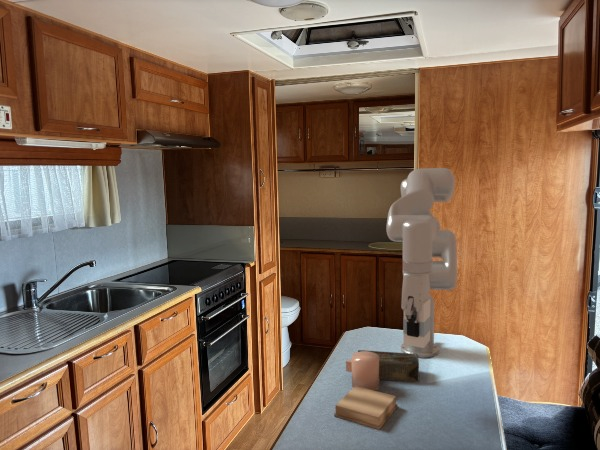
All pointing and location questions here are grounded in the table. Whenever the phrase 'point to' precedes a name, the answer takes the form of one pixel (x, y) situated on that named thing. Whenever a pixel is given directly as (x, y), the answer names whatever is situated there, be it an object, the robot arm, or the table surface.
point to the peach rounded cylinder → (364, 370)
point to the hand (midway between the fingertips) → (416, 331)
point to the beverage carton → (398, 366)
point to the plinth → (366, 407)
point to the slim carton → (423, 327)
